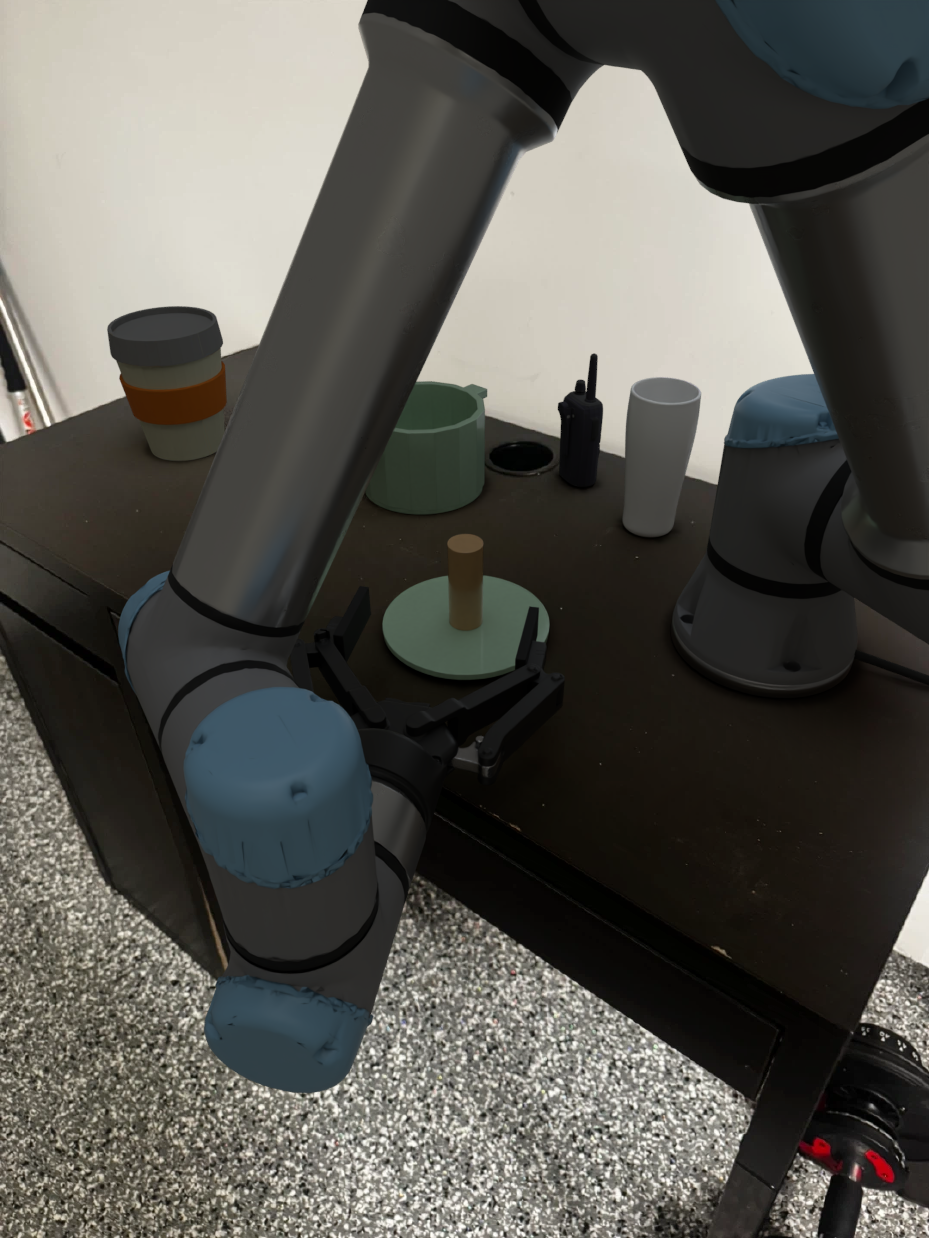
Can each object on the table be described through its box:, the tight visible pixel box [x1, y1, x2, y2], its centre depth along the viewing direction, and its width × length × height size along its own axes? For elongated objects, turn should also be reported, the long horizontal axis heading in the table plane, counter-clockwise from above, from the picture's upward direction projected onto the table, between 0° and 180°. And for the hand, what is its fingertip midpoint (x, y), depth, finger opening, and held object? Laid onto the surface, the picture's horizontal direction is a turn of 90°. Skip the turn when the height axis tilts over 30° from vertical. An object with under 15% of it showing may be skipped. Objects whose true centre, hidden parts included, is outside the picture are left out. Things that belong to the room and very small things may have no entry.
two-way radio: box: [557, 353, 604, 488], centre depth 97 cm, size 6×4×15 cm
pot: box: [364, 380, 488, 515], centre depth 98 cm, size 14×19×10 cm
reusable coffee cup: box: [106, 305, 228, 462], centre depth 105 cm, size 13×13×15 cm
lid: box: [381, 533, 551, 681], centre depth 76 cm, size 15×15×9 cm
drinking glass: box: [621, 376, 702, 538], centre depth 88 cm, size 7×7×15 cm
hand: (448, 610), depth 70 cm, fingers open, 13 cm apart
